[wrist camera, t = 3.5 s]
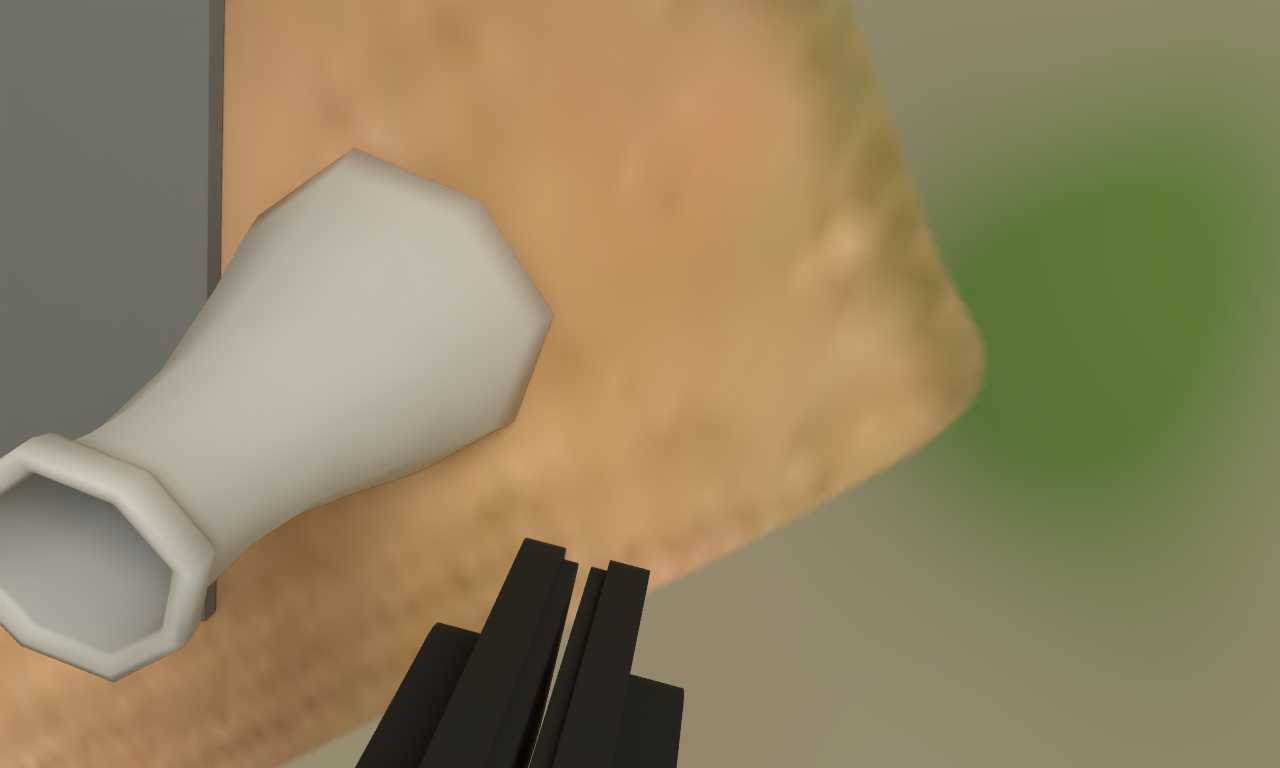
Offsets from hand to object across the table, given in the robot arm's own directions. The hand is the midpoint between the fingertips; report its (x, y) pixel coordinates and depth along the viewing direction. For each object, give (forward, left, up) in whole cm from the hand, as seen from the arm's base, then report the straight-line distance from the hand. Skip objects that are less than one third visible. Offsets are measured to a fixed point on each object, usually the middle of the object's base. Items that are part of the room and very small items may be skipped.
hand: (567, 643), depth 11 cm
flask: (-6, 0, -9) cm, 11 cm away
